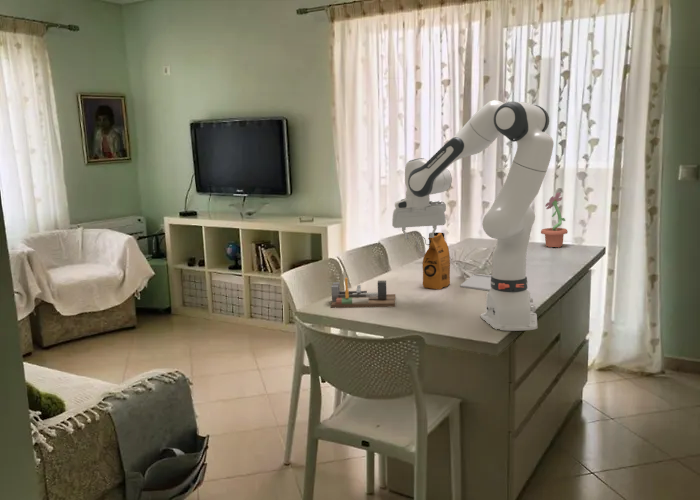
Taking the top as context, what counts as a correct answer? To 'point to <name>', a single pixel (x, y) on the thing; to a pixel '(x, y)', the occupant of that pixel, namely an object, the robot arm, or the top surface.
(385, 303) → the gauge base
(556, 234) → the decorative flower
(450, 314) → the top surface
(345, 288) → the orange angled bar
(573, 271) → the top surface
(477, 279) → the gadget
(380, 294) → the grey notched block
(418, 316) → the top surface
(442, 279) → the coffee package
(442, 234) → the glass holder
